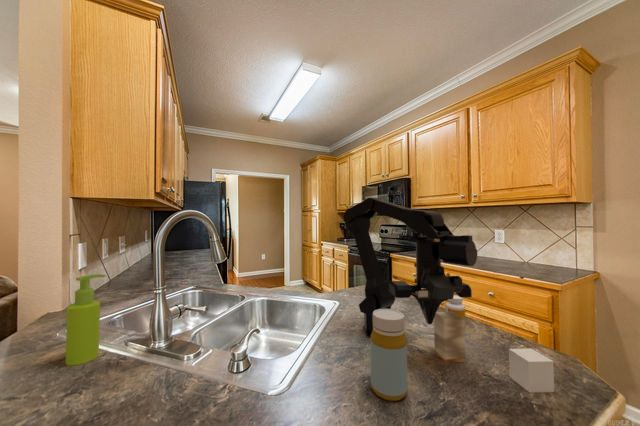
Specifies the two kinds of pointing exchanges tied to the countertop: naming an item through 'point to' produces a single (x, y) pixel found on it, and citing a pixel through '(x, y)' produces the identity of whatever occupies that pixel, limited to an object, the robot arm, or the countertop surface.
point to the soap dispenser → (83, 324)
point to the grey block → (531, 370)
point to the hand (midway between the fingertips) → (429, 323)
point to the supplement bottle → (456, 306)
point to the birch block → (449, 336)
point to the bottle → (389, 355)
